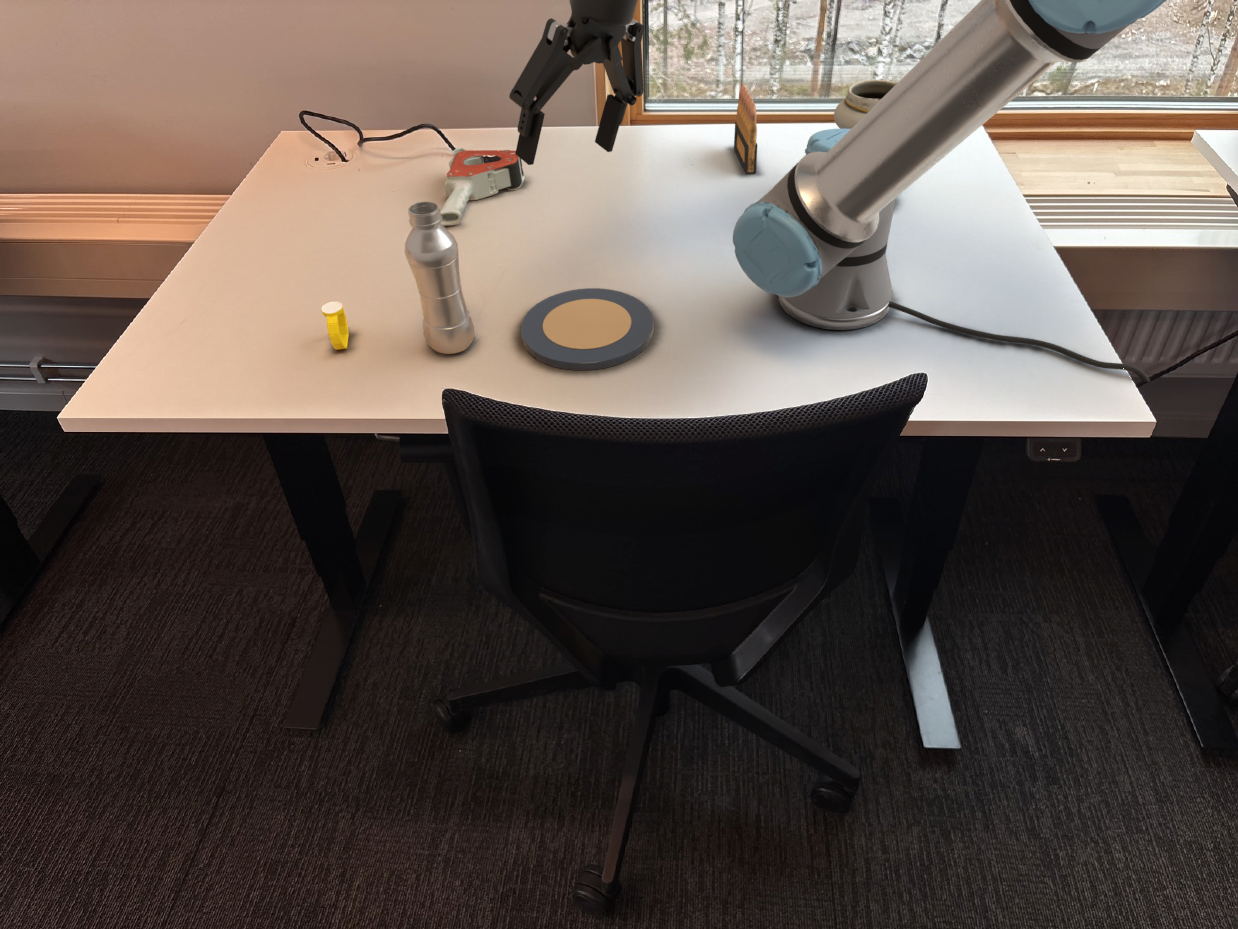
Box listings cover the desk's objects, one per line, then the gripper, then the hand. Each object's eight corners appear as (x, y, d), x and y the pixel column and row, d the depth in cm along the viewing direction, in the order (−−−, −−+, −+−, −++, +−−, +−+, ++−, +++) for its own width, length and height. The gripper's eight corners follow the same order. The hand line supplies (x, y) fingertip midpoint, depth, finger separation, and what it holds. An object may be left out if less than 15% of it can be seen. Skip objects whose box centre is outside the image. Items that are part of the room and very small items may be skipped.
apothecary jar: (823, 183, 151) (836, 73, 139) (897, 185, 149) (916, 74, 137) (824, 217, 142) (838, 103, 130) (902, 220, 141) (923, 104, 128)
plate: (679, 320, 123) (679, 312, 122) (598, 387, 112) (597, 379, 112) (578, 282, 131) (577, 274, 130) (494, 341, 121) (492, 333, 120)
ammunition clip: (733, 149, 163) (736, 81, 155) (743, 148, 163) (747, 80, 155) (745, 174, 155) (749, 104, 147) (756, 173, 155) (760, 103, 147)
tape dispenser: (445, 240, 145) (549, 197, 152) (438, 211, 141) (545, 168, 148) (399, 197, 155) (499, 158, 162) (391, 168, 152) (494, 130, 158)
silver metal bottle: (468, 362, 118) (441, 222, 104) (419, 358, 119) (386, 219, 105) (483, 334, 122) (459, 197, 109) (436, 330, 123) (407, 194, 110)
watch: (335, 332, 124) (323, 295, 120) (355, 330, 124) (344, 293, 120) (330, 357, 120) (318, 319, 116) (351, 355, 120) (340, 317, 116)
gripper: (661, -36, 109) (614, 128, 124) (501, -39, 94) (469, 148, 108) (704, -9, 106) (651, 155, 121) (545, -8, 91) (506, 181, 105)
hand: (565, 152), depth 114 cm, fingers open, 13 cm apart
